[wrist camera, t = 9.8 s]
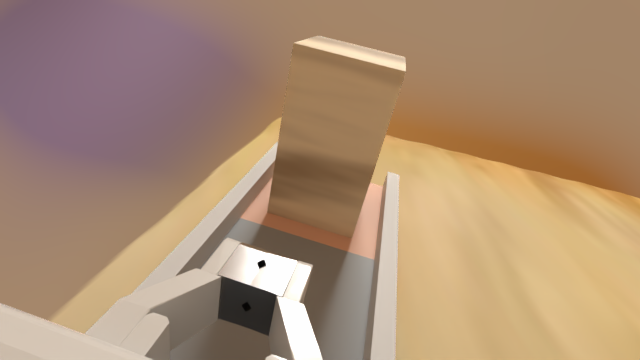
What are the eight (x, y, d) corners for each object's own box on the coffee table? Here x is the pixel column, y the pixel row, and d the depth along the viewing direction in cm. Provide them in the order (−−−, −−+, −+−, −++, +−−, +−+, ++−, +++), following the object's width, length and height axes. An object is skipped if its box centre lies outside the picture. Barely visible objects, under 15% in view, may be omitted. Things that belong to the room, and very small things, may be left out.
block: (352, 238, 22) (405, 71, 17) (267, 212, 23) (293, 42, 17) (361, 195, 27) (405, 57, 22) (292, 174, 28) (318, 35, 23)
